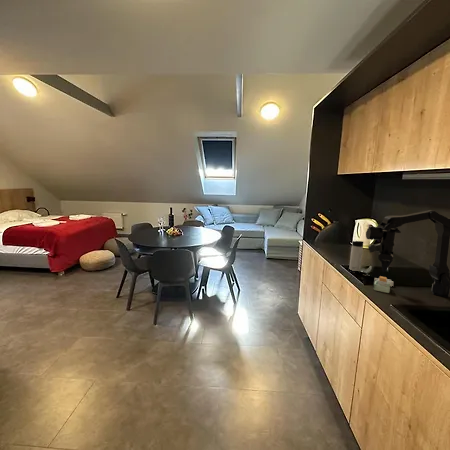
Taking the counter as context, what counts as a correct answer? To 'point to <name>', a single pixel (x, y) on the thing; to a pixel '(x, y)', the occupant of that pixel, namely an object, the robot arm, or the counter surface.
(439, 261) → the robot arm
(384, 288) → the end holder
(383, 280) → the connector block
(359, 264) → the travel mug
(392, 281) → the clip
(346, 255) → the counter surface
